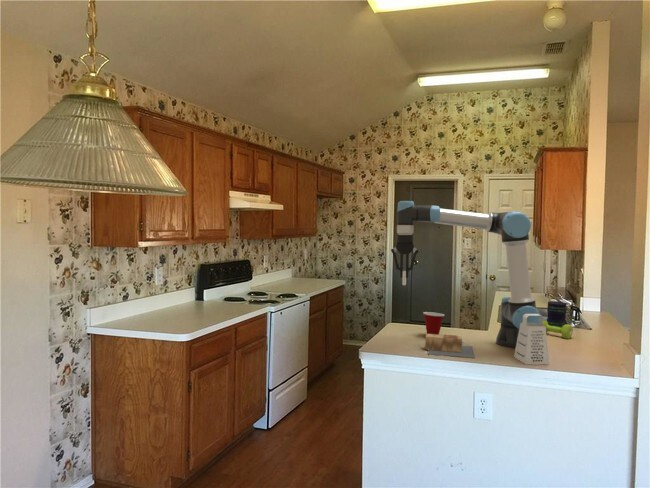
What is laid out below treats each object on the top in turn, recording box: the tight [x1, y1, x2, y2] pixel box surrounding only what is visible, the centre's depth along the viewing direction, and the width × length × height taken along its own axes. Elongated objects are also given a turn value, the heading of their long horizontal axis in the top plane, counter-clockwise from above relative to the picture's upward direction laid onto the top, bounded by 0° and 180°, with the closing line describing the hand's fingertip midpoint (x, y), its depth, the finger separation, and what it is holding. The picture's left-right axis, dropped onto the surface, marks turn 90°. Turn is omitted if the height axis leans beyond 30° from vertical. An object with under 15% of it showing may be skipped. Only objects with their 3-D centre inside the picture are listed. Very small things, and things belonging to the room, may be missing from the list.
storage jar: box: [546, 300, 568, 328], centre depth 276 cm, size 10×10×15 cm
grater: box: [513, 313, 550, 365], centre depth 211 cm, size 10×10×20 cm
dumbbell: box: [543, 319, 574, 340], centre depth 259 cm, size 16×8×7 cm, turn 42°
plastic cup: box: [422, 311, 445, 335], centre depth 253 cm, size 11×11×12 cm
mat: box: [427, 345, 476, 359], centre depth 225 cm, size 20×20×1 cm
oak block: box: [424, 333, 463, 352], centre depth 226 cm, size 6×6×16 cm
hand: (404, 284), depth 229 cm, fingers closed
